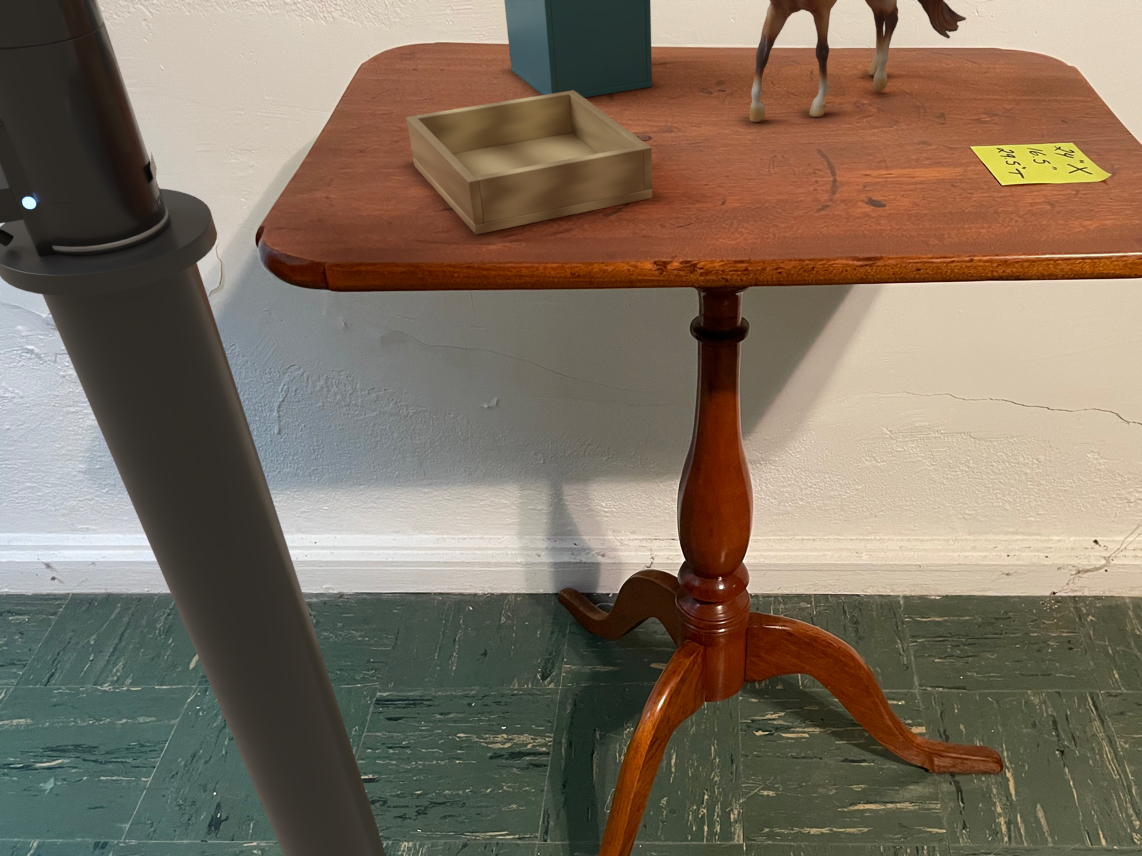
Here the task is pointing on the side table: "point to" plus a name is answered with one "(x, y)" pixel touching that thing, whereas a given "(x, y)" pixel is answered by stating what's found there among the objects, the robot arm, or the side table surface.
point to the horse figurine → (819, 6)
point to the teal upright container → (580, 45)
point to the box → (529, 160)
